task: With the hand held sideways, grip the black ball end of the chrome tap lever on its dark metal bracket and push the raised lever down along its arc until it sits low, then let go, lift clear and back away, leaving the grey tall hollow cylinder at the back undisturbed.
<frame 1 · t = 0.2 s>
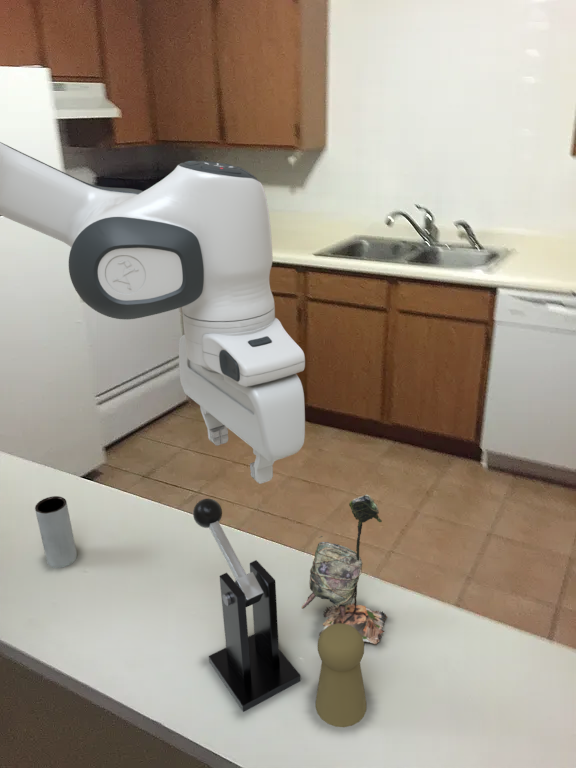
hand: (239, 459, 70), 31 cm above the countertop, tool pointing down, fingers open, 8 cm apart
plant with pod: (344, 626, 90), on the countertop
grey tall hollow cylinder: (62, 560, 104), on the countertop
cork: (340, 707, 78), on the countertop
tap lever: (226, 548, 81), point 16 cm above the countertop, hinge at 28.0°
tap bracket: (254, 672, 83), on the countertop
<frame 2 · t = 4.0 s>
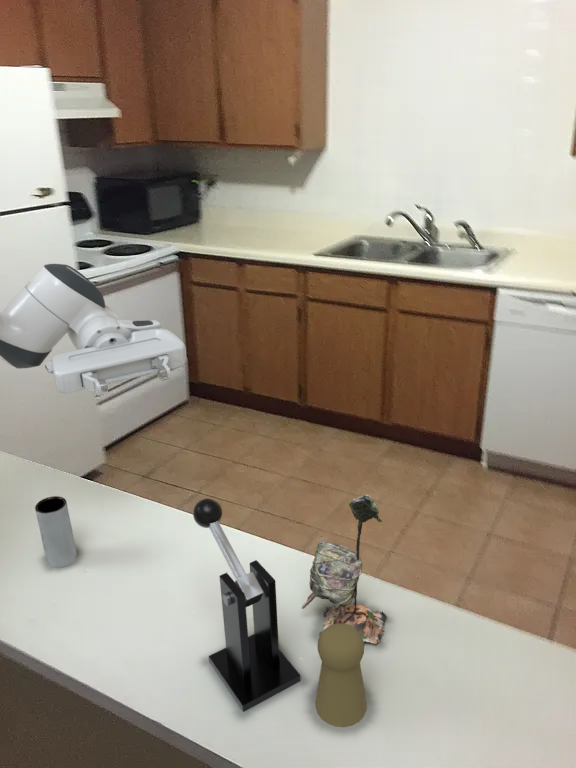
hand: (135, 382, 97), 28 cm above the countertop, tool horizontal, fingers open, 8 cm apart
nothing on the countertop moved.
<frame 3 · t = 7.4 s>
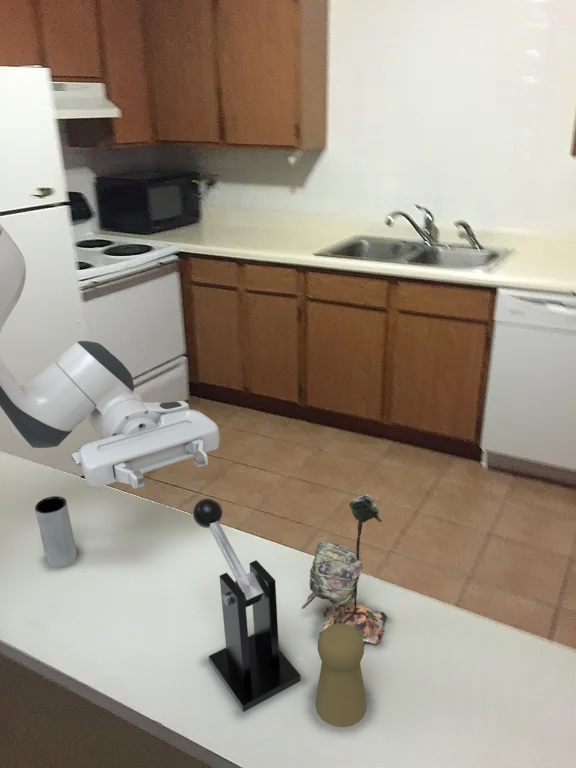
hand: (172, 472, 91), 19 cm above the countertop, tool horizontal, fingers open, 8 cm apart
nothing on the countertop moved.
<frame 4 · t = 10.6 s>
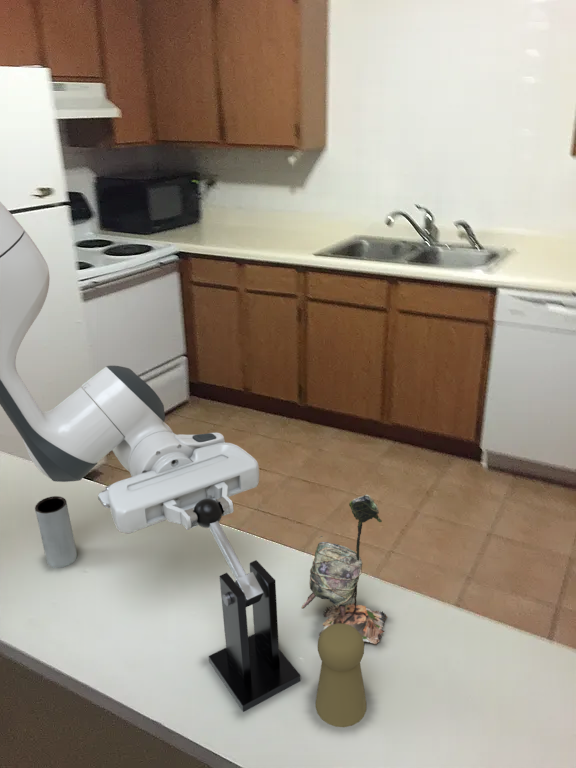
hand: (211, 516, 82), 18 cm above the countertop, tool horizontal, fingers closed on tap lever, 3 cm apart
tap lever: (226, 548, 81), point 16 cm above the countertop, hinge at 28.0°, touching gripper
everything else where it was.
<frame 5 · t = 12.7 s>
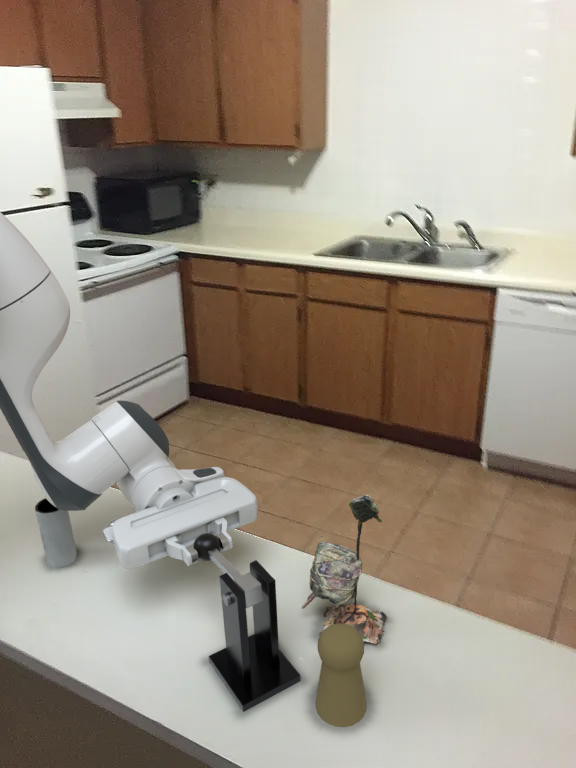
hand: (211, 552, 86), 12 cm above the countertop, tool horizontal, fingers closed on tap lever, 3 cm apart
tap lever: (225, 566, 82), point 13 cm above the countertop, hinge at -4.5°, touching gripper
everything else where it was.
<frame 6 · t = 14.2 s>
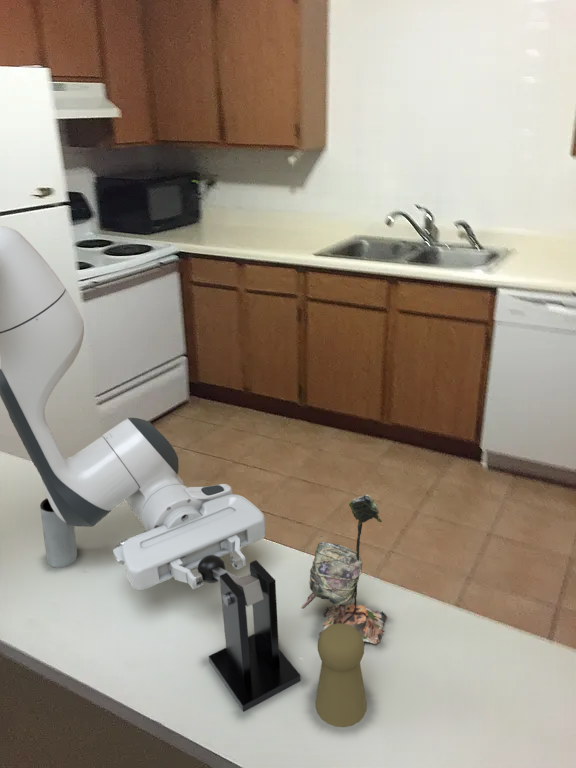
hand: (220, 573, 87), 9 cm above the countertop, tool horizontal, fingers open, 5 cm apart
grey tall hollow cylinder: (62, 560, 104), on the countertop, touching arm
tap lever: (228, 578, 83), point 11 cm above the countertop, hinge at -21.0°, touching gripper
everything else where it was.
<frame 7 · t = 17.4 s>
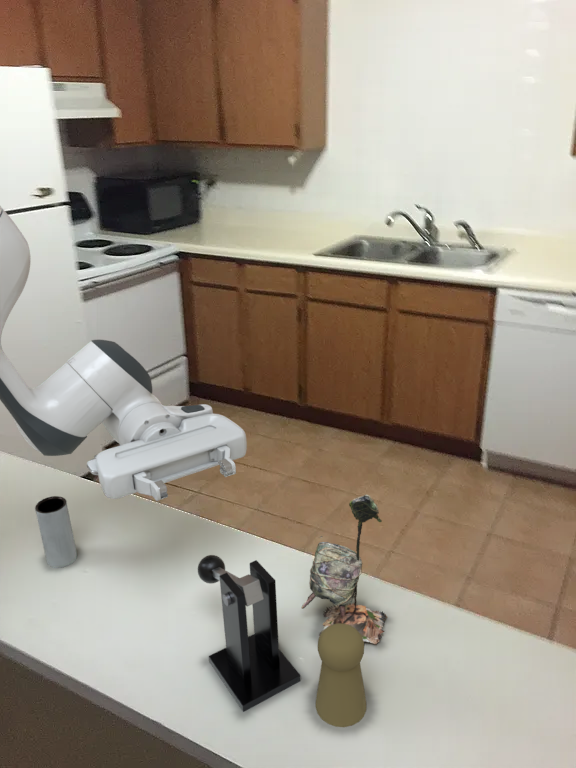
hand: (197, 482, 84), 22 cm above the countertop, tool horizontal, fingers open, 8 cm apart
grey tall hollow cylinder: (62, 560, 104), on the countertop
tap lever: (228, 578, 83), point 11 cm above the countertop, hinge at -21.0°
everything else where it was.
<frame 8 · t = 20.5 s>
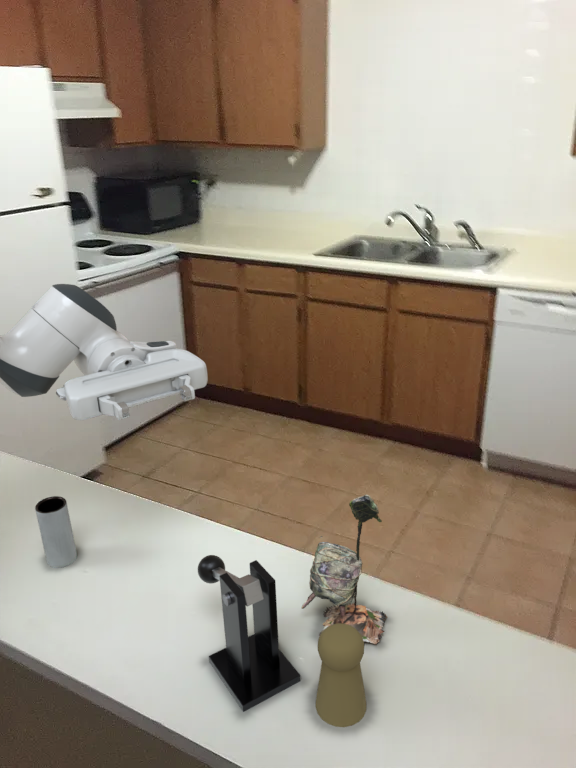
hand: (157, 404, 90), 28 cm above the countertop, tool horizontal, fingers open, 8 cm apart
nothing on the countertop moved.
at the end: tap lever at -21° (first picture: +28°); the gripper is holding nothing; grey tall hollow cylinder moved 0.2 cm from its start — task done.
